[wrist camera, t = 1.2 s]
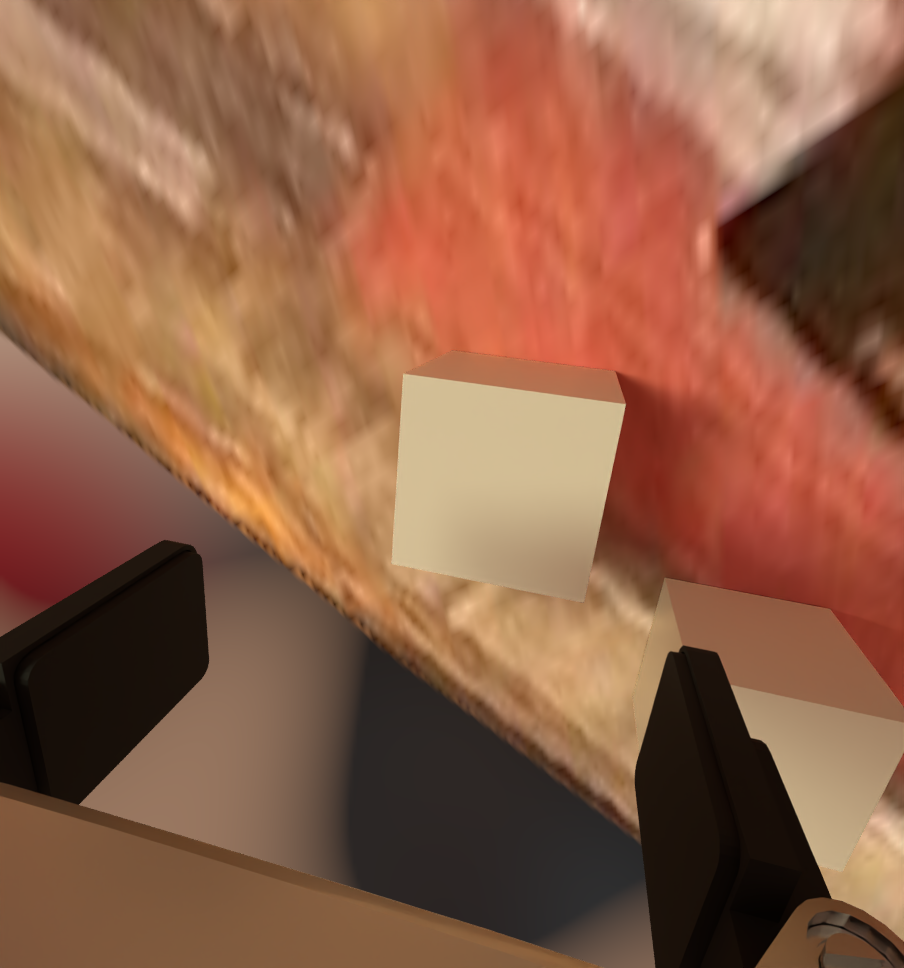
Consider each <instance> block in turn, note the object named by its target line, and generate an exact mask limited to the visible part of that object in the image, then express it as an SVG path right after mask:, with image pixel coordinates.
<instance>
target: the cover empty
mask: <svg viewBox="0 0 904 968" xmlns="http://www.w3.org/2000/svg"><path fill="white" fill-rule="evenodd" d="M683 645H685V646H689V647H694V648H699V649H704V650H709V651H714V652H717V653H718V655H719V657H720V659H721V662H722V665H723V667H724V670H725V672H726V675H727V678H728V680H729V683H730V685H731V688H732V690H733V693H734V696H735V698H736V701H737V703H738V706H739V709H740V711H741V714H742V716H743V719H744V722H745V724H746V727H747V729H748V732H749V735H750V737H751V738H754V739H758V740H761V741H763V742H764V743H765V744H766V745H767V747H768V748H769V750H770V752H771V754H772V757H773V759H774V762H775V764H776V766H777V769H778V771H779V773H780V776H781V778H782V781H783V783H784V785H785V788H786V790H787V793H788V795H789V797H790V800H791V802H792V805H793V807H794V809H795V812H796V814H797V817H798V819H799V821H800V824H801V826H802V829H803V831H804V833H805V836H806V838H807V841H808V843H809V845H810V848H811V850H812V853H813V855H814V857H815V860H816V862H817V865H818V866H821V867H825V868H828V869H832V870H836V871H840V872H843V870H844V868H845V866H846V864H847V862H848V860H849V858H850V856H851V854H852V852H853V850H854V848H855V846H856V844H857V842H858V840H859V839H860V837H861V835H862V833H863V831H864V829H865V827H866V825H867V823H868V821H869V819H870V817H871V815H872V813H873V811H874V809H875V807H876V806H877V804H878V802H879V800H880V798H881V796H882V794H883V792H884V790H885V788H886V786H887V784H888V782H889V780H890V778H891V776H892V775H893V773H894V771H895V769H896V767H897V765H898V763H899V761H900V759H901V757H902V755H903V753H904V707H903V705H902V704H901V703H900V701H899V700H898V699H897V697H896V696H895V695H894V693H893V692H892V691H891V689H890V688H889V687H888V685H887V684H886V683H885V681H884V680H883V679H882V677H881V676H880V675H879V673H878V672H877V671H876V669H875V668H874V667H873V665H872V664H871V663H870V661H869V660H868V659H867V657H866V656H865V655H864V653H863V652H862V651H861V649H860V648H859V647H858V645H857V644H856V643H855V641H854V640H853V639H852V637H851V636H850V635H849V633H848V632H847V631H846V629H845V628H844V627H843V625H842V624H841V623H840V621H839V620H838V619H837V617H836V616H835V615H834V613H833V612H832V611H831V609H828V608H823V607H818V606H812V605H807V604H802V603H796V602H791V601H786V600H781V599H775V598H770V597H765V596H760V595H754V594H749V593H744V592H739V591H733V590H728V589H723V588H717V587H712V586H707V585H702V584H696V583H691V582H686V581H681V580H675V579H670V578H664V582H663V586H662V589H661V593H660V597H659V600H658V604H657V608H656V612H655V615H654V619H653V623H652V627H651V630H650V634H649V638H648V642H647V645H646V649H645V653H644V656H643V660H642V664H641V668H640V671H639V675H638V679H637V683H636V686H635V690H634V694H633V705H634V714H635V723H636V733H637V742H638V751H639V753H640V749H641V746H642V742H643V739H644V735H645V732H646V728H647V724H648V721H649V717H650V714H651V710H652V707H653V703H654V700H655V696H656V693H657V689H658V685H659V682H660V678H661V675H662V671H663V668H664V664H665V661H666V657H667V654H668V653H669V652H670V651H673V652H679V650H680V648H681V647H682V646H683Z"/></svg>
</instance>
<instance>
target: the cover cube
mask: <svg viewBox="0 0 904 968" xmlns="http://www.w3.org/2000/svg"><path fill="white" fill-rule="evenodd" d="M625 407H626V403H625V400H624V397H623V394H622V390H621V387H620V384H619V381H618V378H617V375H616V372H615V371H611V370H603V369H596V368H588V367H580V366H572V365H564V364H556V363H549V362H541V361H533V360H525V359H517V358H509V357H501V356H494V355H486V354H478V353H470V352H462V351H454V350H452V351H449V352H447V353H445V354H443V355H441V356H439V357H437V358H435V359H433V360H431V361H429V362H427V363H425V364H422V365H420V366H418V367H416V368H414V369H412V370H410V371H408V372H406V373H404V374H403V388H402V404H401V420H400V436H399V452H398V468H397V484H396V500H395V516H394V532H393V548H392V564H394V565H399V566H404V567H409V568H414V569H419V570H424V571H429V572H434V573H439V574H444V575H448V576H453V577H458V578H463V579H468V580H473V581H478V582H483V583H488V584H493V585H498V586H503V587H508V588H513V589H517V590H522V591H527V592H532V593H537V594H542V595H547V596H552V597H557V598H562V599H567V600H572V601H577V602H582V603H584V601H585V596H586V591H587V586H588V582H589V577H590V572H591V568H592V563H593V558H594V553H595V549H596V544H597V539H598V534H599V530H600V525H601V520H602V516H603V511H604V506H605V501H606V497H607V492H608V487H609V482H610V478H611V473H612V468H613V464H614V459H615V454H616V449H617V445H618V440H619V435H620V430H621V426H622V421H623V416H624V412H625Z"/></svg>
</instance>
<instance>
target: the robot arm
mask: <svg viewBox="0 0 904 968" xmlns="http://www.w3.org/2000/svg"><path fill="white" fill-rule="evenodd" d="M208 664H209V654H208V638H207V623H206V608H205V594H204V581H203V565H202V558H201V556H200V555H199V554H197V552H196V550H195V548H194V547H193V546H191V545H188V544H183V543H178V542H173V541H168V540H164V541H161V542H159V543H157V544H156V545H154V546H152V547H150V548H149V549H147V550H145V551H144V552H142V553H140V554H139V555H137V556H135V557H134V558H132V559H131V560H129V561H127V562H125V563H124V564H122V565H120V566H119V567H117V568H115V569H114V570H112V571H110V572H108V573H107V574H105V575H103V576H102V577H100V578H98V579H97V580H95V581H93V582H92V583H90V584H88V585H87V586H85V587H83V588H82V589H80V590H78V591H77V592H75V593H73V594H72V595H70V596H68V597H67V598H65V599H63V600H62V601H60V602H58V603H56V604H55V605H53V606H52V607H50V608H48V609H47V610H45V611H43V612H41V613H40V614H38V615H36V616H35V617H33V618H31V619H30V620H28V621H26V622H25V623H23V624H21V625H20V626H18V627H16V628H15V629H13V630H11V631H10V632H8V633H6V634H5V635H3V636H1V637H0V968H603V967H600V966H597V965H594V964H591V963H588V962H584V961H582V960H579V959H576V958H573V957H570V956H566V955H563V954H560V953H558V952H555V951H552V950H548V949H545V948H542V947H539V946H536V945H533V944H530V943H527V942H524V941H521V940H518V939H515V938H512V937H509V936H506V935H503V934H500V933H497V932H494V931H491V930H488V929H484V928H481V927H478V926H474V925H471V924H468V923H465V922H462V921H458V920H455V919H452V918H449V917H446V916H442V915H439V914H436V913H432V912H430V911H426V910H423V909H420V908H417V907H413V906H410V905H407V904H404V903H400V902H397V901H394V900H391V899H388V898H384V897H381V896H378V895H374V894H371V893H368V892H365V891H362V890H358V889H355V888H352V887H349V886H345V885H342V884H339V883H336V882H333V881H329V880H326V879H323V878H320V877H316V876H313V875H310V874H306V873H303V872H300V871H297V870H293V869H290V868H287V867H284V866H280V865H277V864H273V863H270V862H267V861H263V860H260V859H257V858H254V857H251V856H247V855H244V854H241V853H237V852H234V851H231V850H227V849H224V848H221V847H218V846H214V845H211V844H207V843H204V842H201V841H198V840H194V839H191V838H188V837H185V836H181V835H178V834H174V833H171V832H168V831H165V830H161V829H158V828H155V827H151V826H148V825H145V824H141V823H138V822H134V821H131V820H128V819H124V818H121V817H118V816H114V815H111V814H107V813H104V812H100V811H97V810H94V809H90V808H87V807H83V806H80V805H79V804H80V803H81V802H82V801H83V800H84V799H85V798H86V797H87V796H88V795H89V793H91V792H92V791H93V790H94V789H95V787H96V786H97V785H98V784H99V783H100V782H101V781H102V780H103V779H104V778H105V777H106V776H107V775H108V774H109V773H110V772H111V771H112V770H113V769H114V768H115V767H116V766H117V765H118V764H119V763H120V762H121V761H122V760H123V759H124V758H125V757H126V756H127V755H128V754H129V753H130V752H131V750H132V749H133V748H134V747H135V746H136V745H137V744H138V743H139V742H140V741H141V740H142V739H143V738H144V737H145V736H146V735H147V734H148V733H149V732H150V731H151V730H152V729H153V728H154V727H155V726H156V725H157V724H158V723H159V722H160V721H161V720H162V719H163V718H164V717H165V716H166V715H167V714H168V713H169V712H170V711H171V710H172V709H173V708H174V707H175V705H176V704H177V703H178V702H179V701H180V700H181V699H182V698H183V697H184V696H185V695H186V694H187V693H188V692H189V691H190V690H191V689H192V688H193V687H194V686H195V685H196V684H197V683H198V682H199V681H200V680H201V679H202V677H203V676H204V674H205V672H206V670H207V668H208ZM635 791H636V800H637V809H638V817H639V826H640V835H641V844H642V852H643V861H644V870H645V879H646V888H647V896H648V904H649V913H650V923H651V931H652V940H653V949H654V957H655V967H656V968H904V941H902V940H901V939H900V938H899V937H898V936H897V935H896V934H895V933H894V932H892V931H891V930H890V929H889V928H888V927H887V926H886V925H884V924H883V923H881V922H880V921H878V920H877V919H875V918H874V917H872V916H871V915H869V914H868V913H866V912H865V911H863V910H861V909H859V908H856V907H854V906H852V905H850V904H847V903H845V902H843V901H839V900H834V899H832V898H831V896H830V893H829V891H828V889H827V886H826V884H825V881H824V879H823V877H822V874H821V872H820V869H819V867H818V865H817V862H816V860H815V857H814V855H813V853H812V850H811V848H810V845H809V843H808V841H807V838H806V836H805V833H804V831H803V829H802V826H801V824H800V821H799V819H798V817H797V814H796V812H795V809H794V807H793V805H792V802H791V800H790V797H789V795H788V793H787V790H786V788H785V785H784V783H783V781H782V778H781V776H780V773H779V771H778V769H777V766H776V764H775V762H774V759H773V757H772V754H771V752H770V750H769V748H768V747H767V745H766V744H765V743H764V742H763V741H761V740H758V739H754V738H751V737H750V735H749V732H748V729H747V727H746V724H745V722H744V719H743V716H742V714H741V711H740V709H739V706H738V703H737V701H736V698H735V696H734V693H733V690H732V688H731V685H730V683H729V680H728V678H727V675H726V672H725V670H724V667H723V665H722V662H721V659H720V657H719V655H718V653H717V652H714V651H709V650H704V649H699V648H694V647H689V646H685V645H683V646H682V647H681V648H680V650H679V652H673V651H670V652H669V653H668V654H667V657H666V661H665V664H664V668H663V671H662V675H661V678H660V682H659V685H658V689H657V693H656V696H655V700H654V703H653V707H652V710H651V714H650V717H649V721H648V724H647V728H646V732H645V735H644V739H643V742H642V746H641V749H640V753H639V756H638V760H637V764H636V770H635Z"/></svg>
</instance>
